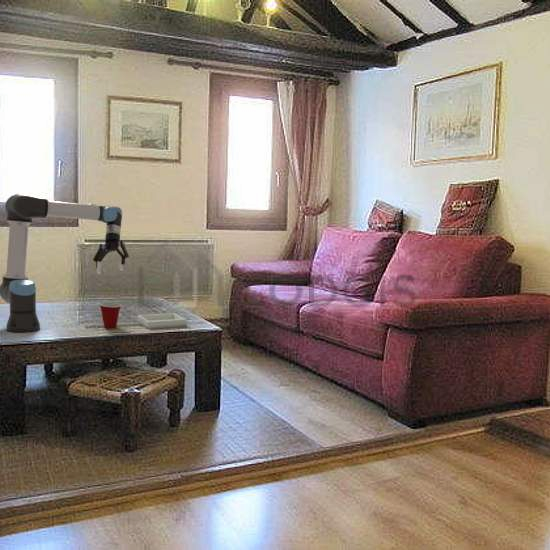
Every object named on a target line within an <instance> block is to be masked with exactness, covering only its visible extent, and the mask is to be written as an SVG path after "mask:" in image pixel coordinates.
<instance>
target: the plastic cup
mask: <svg viewBox="0 0 550 550" xmlns="http://www.w3.org/2000/svg"><path fill="white" fill-rule="evenodd" d="M122 305H123V304H122V303H119V302H111V301H109V302H104V301H103V302H100V303H99V306H100V311H101V317H102V321H103V327H104V328H105V327H106V328H105V329H115V328H114V327H116V328H117V325H118V321H119V316H120V315H119V313H120V311H121V307H122Z"/></svg>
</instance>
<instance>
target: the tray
mask: <svg viewBox="0 0 550 550" xmlns="http://www.w3.org/2000/svg"><path fill="white" fill-rule="evenodd" d="M137 323H139V324H140V323H141V324H142V325H141V324H140V325H141V326H143V328H146V329H147V330H153V329H155V330H156V329H167V328H181V327H182V328H184V327H185V328H187V325H188V324H187V319H186V318H184V317H183V316H181V315H178V314H177V313H175V312H173V313H172V312H171V313H154V314H138V315H137Z"/></svg>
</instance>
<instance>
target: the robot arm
mask: <svg viewBox="0 0 550 550" xmlns="http://www.w3.org/2000/svg"><path fill="white" fill-rule="evenodd" d="M4 209H5V211H6V222H7V223H8V224H9V230H8V242H7V243H8V246H7V259H6V260H7V261H6V273H4V275H3V274H2V275H3V276H2V282H1V284H0V297H1V299H2V300H3V301H4V302H6V303H8V304H9V316H8V320H7V322H6V326H5V327H6V331H7V332H9V333H31V332H36V331H39V330H40V329H41V323H40V320H39V317H38V316H37V315H38V314H37V312H36V311H37V309H36V308H37V299H36V297H37V295H36V294H37V293H36V291H37V288H36V283H35V281H32V280H29V277H28V276H27V274H26V265H27V263H26V262H27V252H28V251H27V250H28V249H27V248H28V240H29V239H28V238H29V226H30V225H32V223H33V219H46V218H48V217H49V218H65V219H74V220H89V221H98V222H102V223H105V224H106V226H105V227H106V228H105V237H104V240H105V244H102V243H100V244H99V246H98V250H97V251H96V253H95V255H94V257H93V259H92V260H93V262H95V268H96V274H97V275H101V274H102V264H103V263H102V261H103V260H104V258H105V257H106V255H107V254H110V253H111V252H116V253H117V254H118V255H119V256H120V257H119V263H118V264H119V265H118V270H119V271H121V272H123V271H124V265H125V264H126V259H127V258H129V257H130V256H129V255H130V254H129V253H128V250H127V249H126V243H125V241H123V240H121V230H122V219H123V210H122V209H121V207H119V206H113V205H112V206H110V205H108V206H106V205H97V204H93V203H88V204H87V203H86V204H84V203H75V202H63V201H55V200H54V201H53V200H49V199H48V198H43V197H39V196H34V195H31V194H22V193H21V194H20V193H17V194H13V195H11V196H9V198H7V199H6V202H5V205H4ZM119 246H120V248H121V250H120V248H119Z"/></svg>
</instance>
